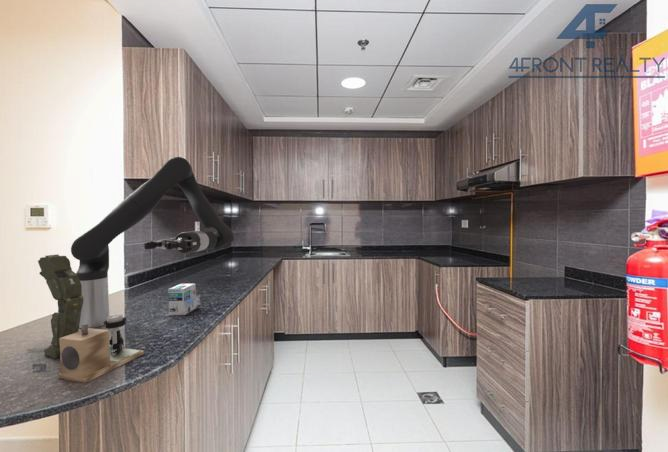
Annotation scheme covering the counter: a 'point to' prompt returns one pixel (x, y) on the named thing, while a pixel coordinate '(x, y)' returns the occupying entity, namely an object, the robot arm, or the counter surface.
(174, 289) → the light bulb box
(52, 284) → the mechanical leg
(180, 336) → the counter surface
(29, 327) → the counter surface
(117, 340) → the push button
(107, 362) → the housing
